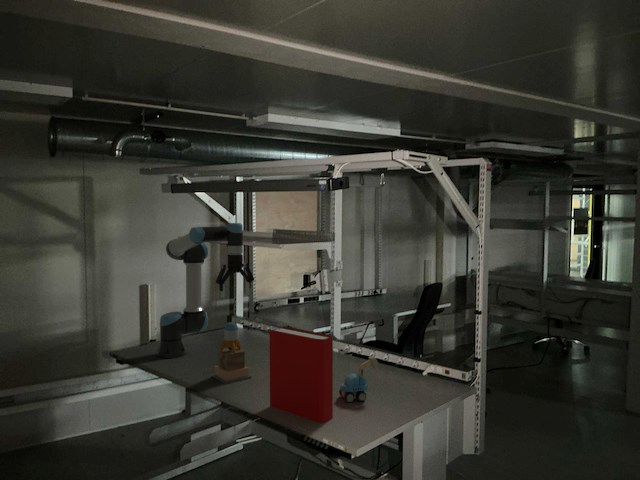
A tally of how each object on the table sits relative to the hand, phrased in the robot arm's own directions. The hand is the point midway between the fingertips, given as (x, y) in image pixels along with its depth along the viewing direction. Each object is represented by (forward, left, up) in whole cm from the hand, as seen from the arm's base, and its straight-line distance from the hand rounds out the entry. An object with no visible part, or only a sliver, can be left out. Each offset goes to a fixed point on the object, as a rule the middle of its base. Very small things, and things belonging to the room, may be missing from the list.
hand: (235, 296), depth 253 cm
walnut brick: (+8, -6, -33) cm, 34 cm away
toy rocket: (+8, -7, -25) cm, 27 cm away
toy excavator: (+66, +25, -38) cm, 80 cm away
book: (+63, -4, -38) cm, 74 cm away
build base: (+8, -6, -38) cm, 39 cm away
